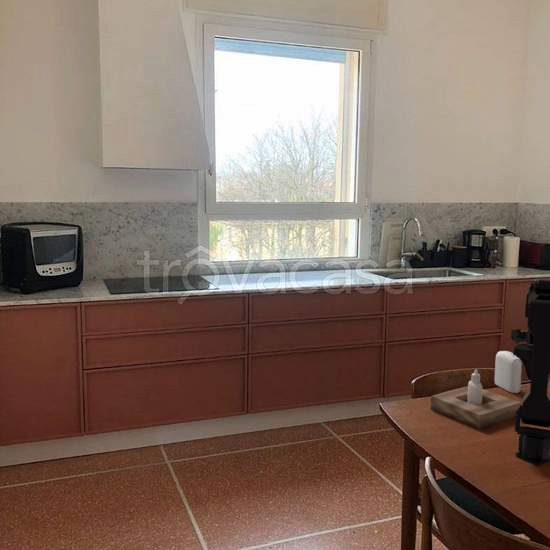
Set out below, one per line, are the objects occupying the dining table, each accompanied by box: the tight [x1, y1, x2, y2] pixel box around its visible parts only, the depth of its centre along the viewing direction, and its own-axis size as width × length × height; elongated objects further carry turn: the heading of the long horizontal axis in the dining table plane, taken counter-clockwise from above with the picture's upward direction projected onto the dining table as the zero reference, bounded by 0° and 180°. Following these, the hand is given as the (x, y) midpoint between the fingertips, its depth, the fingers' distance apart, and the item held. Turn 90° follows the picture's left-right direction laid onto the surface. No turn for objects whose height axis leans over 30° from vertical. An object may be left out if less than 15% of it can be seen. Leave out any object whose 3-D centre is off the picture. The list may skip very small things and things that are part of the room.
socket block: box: [430, 385, 522, 429], centre depth 178 cm, size 18×18×4 cm
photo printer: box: [494, 350, 523, 394], centre depth 198 cm, size 10×4×12 cm, turn 13°
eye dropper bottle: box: [467, 369, 483, 406], centre depth 177 cm, size 4×6×12 cm
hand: (540, 376), depth 170 cm, fingers open, 9 cm apart
